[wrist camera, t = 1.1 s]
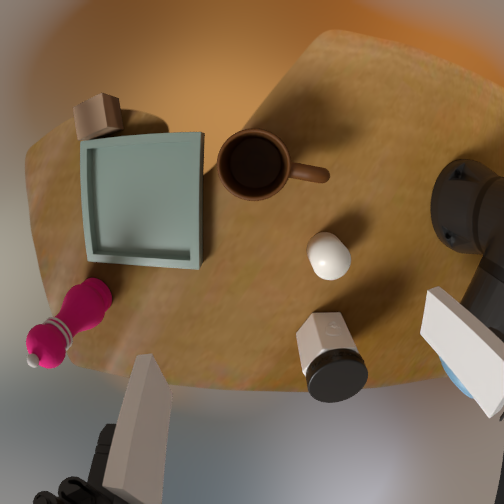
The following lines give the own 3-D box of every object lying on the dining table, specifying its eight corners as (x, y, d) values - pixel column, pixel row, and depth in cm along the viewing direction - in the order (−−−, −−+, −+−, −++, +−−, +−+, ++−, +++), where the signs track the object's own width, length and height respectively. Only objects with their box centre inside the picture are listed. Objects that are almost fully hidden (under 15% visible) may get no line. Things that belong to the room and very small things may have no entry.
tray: (204, 133, 35) (200, 131, 32) (202, 262, 41) (199, 269, 38) (89, 141, 35) (80, 141, 33) (95, 255, 41) (87, 261, 38)
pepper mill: (100, 319, 45) (41, 392, 26) (74, 288, 43) (4, 351, 24) (122, 300, 43) (59, 378, 24) (94, 266, 41) (17, 330, 23)
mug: (321, 145, 35) (340, 142, 26) (312, 200, 37) (328, 214, 28) (230, 131, 35) (220, 122, 26) (222, 187, 37) (210, 197, 28)
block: (118, 98, 33) (101, 92, 28) (124, 129, 35) (107, 126, 30) (91, 110, 34) (73, 107, 29) (96, 140, 35) (77, 140, 30)
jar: (353, 309, 43) (378, 356, 31) (344, 350, 45) (363, 400, 34) (297, 311, 43) (308, 361, 31) (293, 352, 45) (301, 405, 34)
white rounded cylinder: (343, 233, 39) (353, 243, 34) (338, 266, 40) (347, 280, 36) (308, 230, 39) (315, 241, 34) (304, 264, 40) (310, 279, 36)
